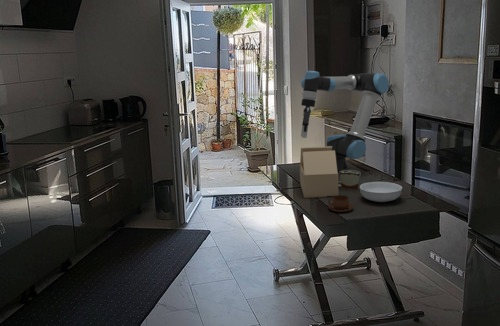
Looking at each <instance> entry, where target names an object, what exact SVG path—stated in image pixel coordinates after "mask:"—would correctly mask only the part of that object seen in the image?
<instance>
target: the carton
mask: <svg viewBox="0 0 500 326" xmlns="http://www.w3.org/2000/svg"><path fill="white" fill-rule="evenodd" d="M299 185H300V187H301V191H302V195H303V198H305V199H307V198H328V197H327V196H339V173H338V174H331V175H307V176H304V164H303V163H300V162H299Z"/></svg>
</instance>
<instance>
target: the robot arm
mask: <svg viewBox="0 0 500 326" xmlns="http://www.w3.org/2000/svg"><path fill="white" fill-rule="evenodd" d="M300 84H301V87H302V89H303V91H302V92H301V94H302V99H301V103H300V104H301V105H300V106H304V108H303V114H302V115H303V118H302V123H301V131H300V132H301V133H300V137H301V138H304V139H307V137H308V130H309V125H310V123H309V122H310V116H311V112H312V110H311V108H314V107H315V105H316V99H317V93H318V91H323V92H329V93H330V92H333V91H334V90H349V91H357V92H361V93H362V99H361V101H360V104H359V106H358V109H357V112H356V115H355V117H354V120H353V123H352V126H351V128H350V131H349V132H347V133H346V134H345V133H343V134H342V133H341V134H339V133H338V134H331V135H328V136H327V138H326V147H329V146H332V151H335V155H336V164H337V172H338V174H339V172H340V171H342V170H350V169H349V167H350V166H349V165H348V164H349V163H348V161H347V159H346V158H349V159H353V160H358V159H360V158H362V157H363V156H364V154H366V151H367V146H366V145H367V144H366V142H365V141H366V138H365V134H366V131H367V128H368V126H369V123H370V121H371V117H372V115H373V112H374V109H375V107H376V104H377V102H378V100H379V99H381V98H382V95H383V94H385V93H387V91H388V89H389V87H390V81H389V79H388V76H387V75H386V74H385V73H381V72H380V73H379V72H364V73H358V74H357V73H356V74H348V75H347V76H344V75H343V76H339V75H338V76H321V75H320V72H319V71H316V70H315V71H314V70H306V72H305V75H304V77H303V78H302V79H301V81H300Z"/></svg>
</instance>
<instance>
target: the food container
mask: <svg viewBox="0 0 500 326" xmlns="http://www.w3.org/2000/svg"><path fill="white" fill-rule="evenodd" d="M338 176H339V181H340V189H341V190H345V189H346V190H349V191H359V190H360V178H361V177H362V174H361V171H360V170H357V169H349V170H342V171H340V172H339V173H338Z"/></svg>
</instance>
